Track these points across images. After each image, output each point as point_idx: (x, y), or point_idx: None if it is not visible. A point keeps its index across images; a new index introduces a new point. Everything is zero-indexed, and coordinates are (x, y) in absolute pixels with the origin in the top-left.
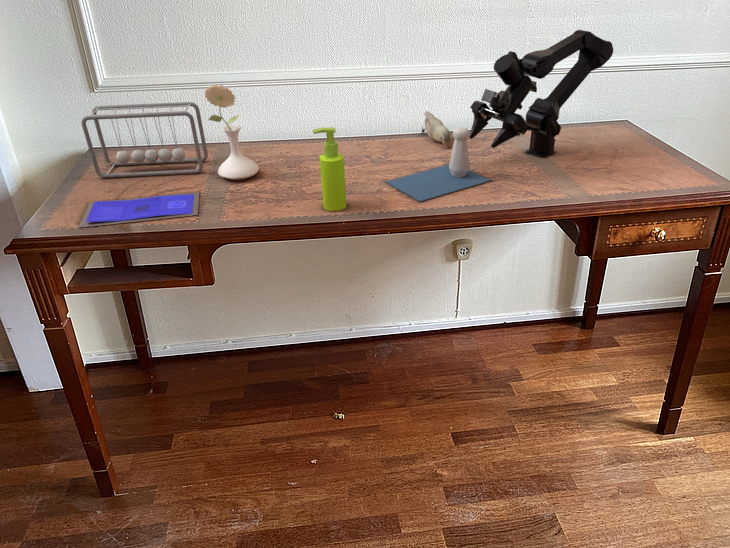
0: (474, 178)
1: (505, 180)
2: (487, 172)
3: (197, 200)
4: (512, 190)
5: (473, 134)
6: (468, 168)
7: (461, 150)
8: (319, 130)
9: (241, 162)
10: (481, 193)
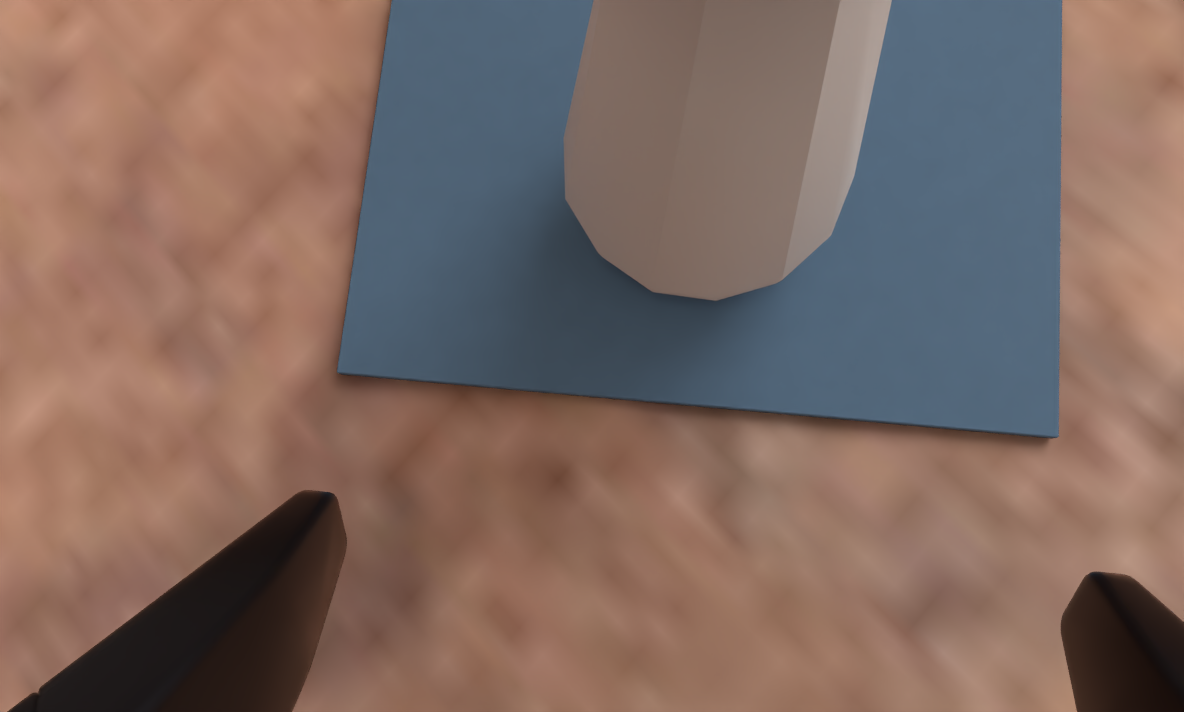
0: (497, 259)
1: (237, 521)
2: (550, 549)
3: None
4: (17, 361)
5: (1116, 696)
6: (566, 191)
7: None
8: None
9: None
10: (201, 65)
